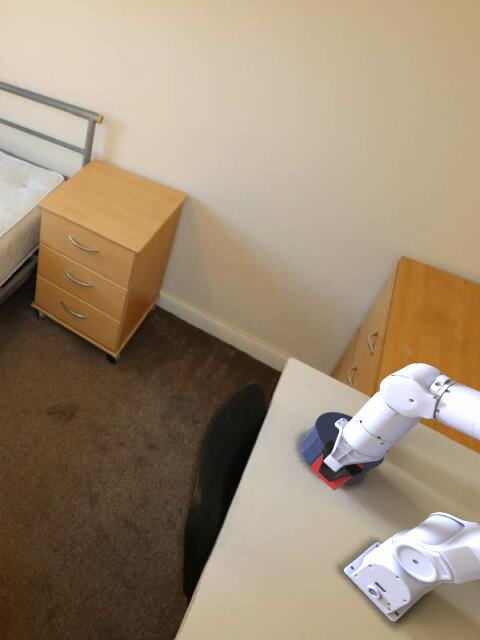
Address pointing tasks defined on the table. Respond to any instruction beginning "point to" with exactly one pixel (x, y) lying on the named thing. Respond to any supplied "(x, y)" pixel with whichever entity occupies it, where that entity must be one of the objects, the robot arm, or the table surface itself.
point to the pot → (320, 453)
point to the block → (333, 484)
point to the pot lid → (336, 432)
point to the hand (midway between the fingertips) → (334, 469)
